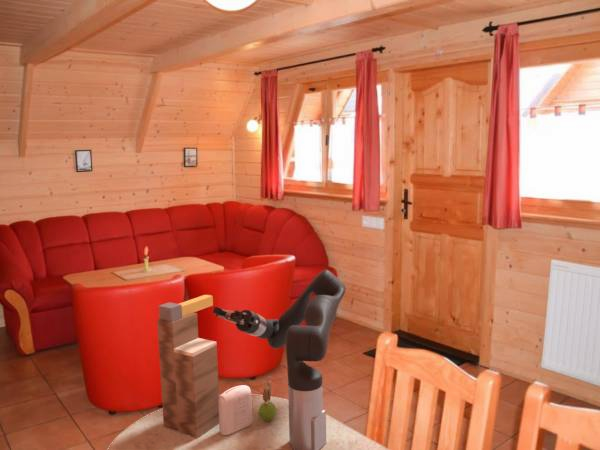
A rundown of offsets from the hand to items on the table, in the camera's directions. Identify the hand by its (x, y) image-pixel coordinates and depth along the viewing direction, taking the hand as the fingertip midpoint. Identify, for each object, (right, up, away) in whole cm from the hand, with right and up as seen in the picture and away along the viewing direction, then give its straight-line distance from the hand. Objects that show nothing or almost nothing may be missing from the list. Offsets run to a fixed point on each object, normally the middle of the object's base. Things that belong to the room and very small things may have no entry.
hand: (224, 311), depth 175 cm
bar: (-9, +2, -14) cm, 17 cm away
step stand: (-7, -31, -15) cm, 35 cm away
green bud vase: (+15, -30, -13) cm, 36 cm away
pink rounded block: (+6, -31, -18) cm, 36 cm away
